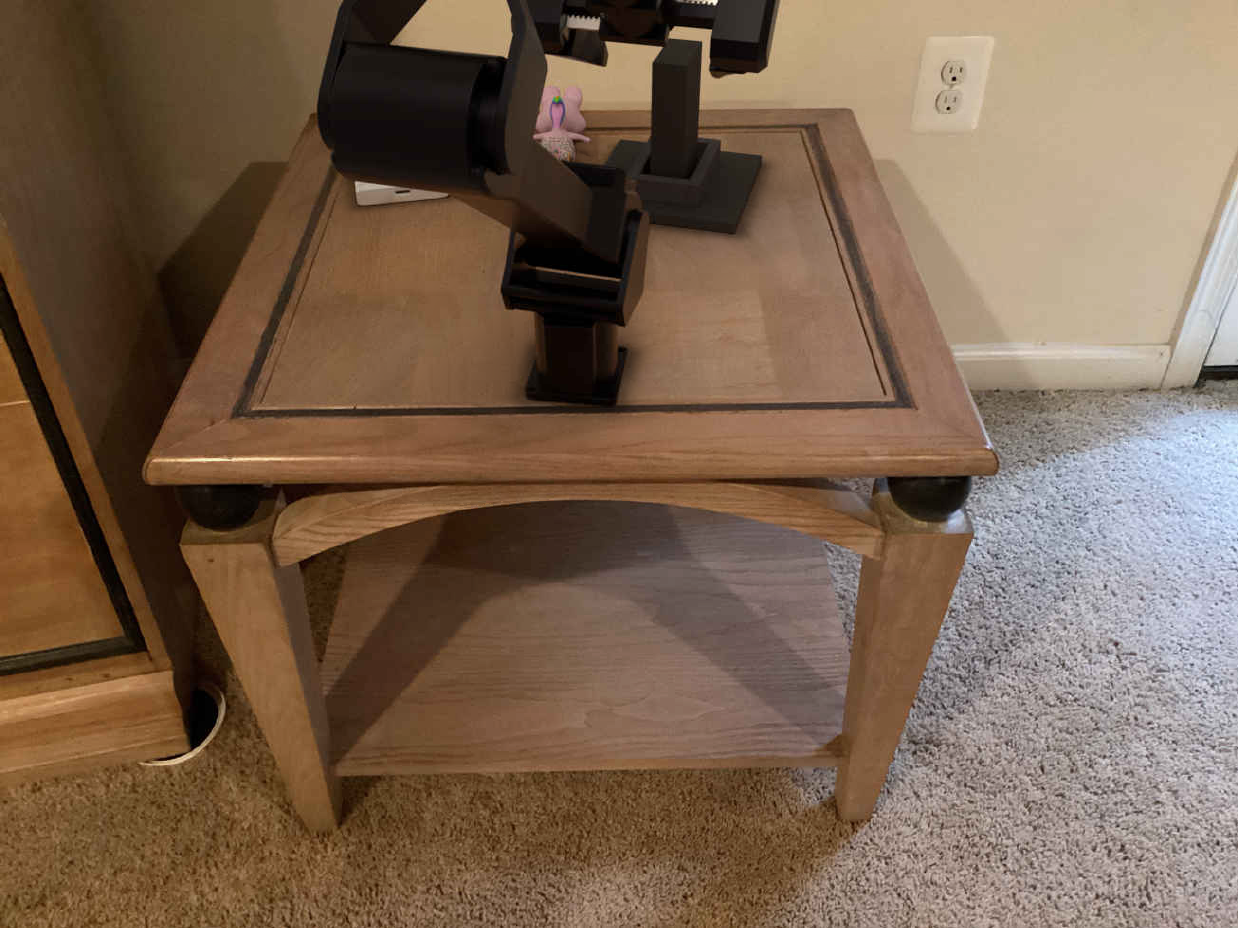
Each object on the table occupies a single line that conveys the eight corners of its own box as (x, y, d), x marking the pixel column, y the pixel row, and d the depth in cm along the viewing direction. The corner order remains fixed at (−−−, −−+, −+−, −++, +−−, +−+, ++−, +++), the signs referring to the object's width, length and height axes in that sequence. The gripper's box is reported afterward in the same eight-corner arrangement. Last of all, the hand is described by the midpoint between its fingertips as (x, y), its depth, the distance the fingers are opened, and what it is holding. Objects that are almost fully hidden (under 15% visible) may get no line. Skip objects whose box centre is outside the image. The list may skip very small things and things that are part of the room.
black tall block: (696, 166, 100) (702, 40, 92) (682, 195, 95) (687, 65, 88) (665, 162, 100) (668, 37, 93) (649, 191, 96) (652, 62, 88)
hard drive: (350, 133, 104) (354, 189, 95) (435, 125, 105) (447, 180, 96) (353, 149, 105) (358, 206, 96) (437, 141, 106) (449, 197, 97)
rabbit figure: (589, 189, 101) (594, 102, 111) (587, 134, 96) (593, 48, 106) (523, 189, 101) (534, 102, 111) (518, 133, 96) (530, 47, 106)
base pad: (761, 165, 102) (764, 134, 100) (734, 234, 92) (737, 202, 90) (620, 148, 105) (620, 119, 103) (578, 214, 95) (577, 182, 93)
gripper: (790, -153, 68) (797, -22, 83) (513, -169, 72) (568, -41, 87) (759, 15, 67) (771, 116, 82) (480, -10, 71) (541, 91, 86)
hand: (661, 66), depth 85 cm, fingers open, 9 cm apart
